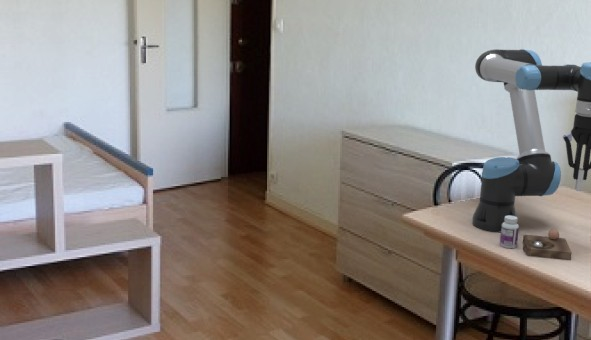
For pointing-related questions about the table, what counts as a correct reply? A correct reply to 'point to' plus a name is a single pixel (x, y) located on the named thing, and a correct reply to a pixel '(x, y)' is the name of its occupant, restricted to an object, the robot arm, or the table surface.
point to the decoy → (553, 234)
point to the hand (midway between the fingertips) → (578, 189)
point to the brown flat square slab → (547, 247)
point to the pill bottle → (509, 232)
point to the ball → (538, 244)
